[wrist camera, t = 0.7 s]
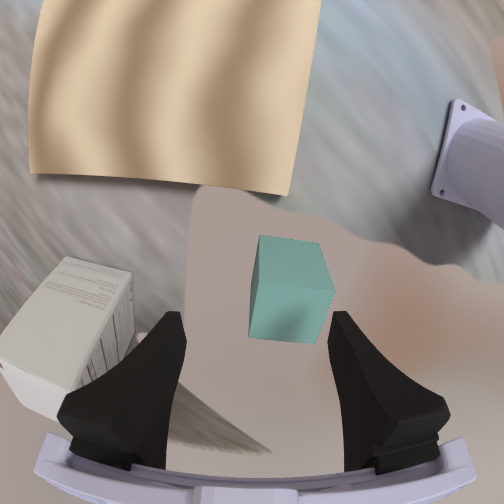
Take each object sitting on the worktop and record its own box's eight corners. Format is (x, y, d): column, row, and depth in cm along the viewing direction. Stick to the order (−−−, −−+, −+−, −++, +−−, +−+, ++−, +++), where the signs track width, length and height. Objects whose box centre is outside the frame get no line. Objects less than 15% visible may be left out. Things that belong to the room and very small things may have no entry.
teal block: (318, 243, 22) (335, 290, 17) (305, 290, 24) (314, 343, 19) (259, 234, 22) (259, 281, 17) (251, 284, 24) (248, 337, 19)
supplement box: (74, 312, 27) (19, 405, 16) (65, 252, 23) (-15, 349, 12) (137, 331, 27) (94, 440, 16) (136, 271, 24) (71, 393, 13)
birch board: (321, -25, 12) (325, -33, 11) (285, 189, 20) (287, 196, 19) (57, -12, 11) (47, -16, 10) (41, 168, 19) (30, 173, 18)
